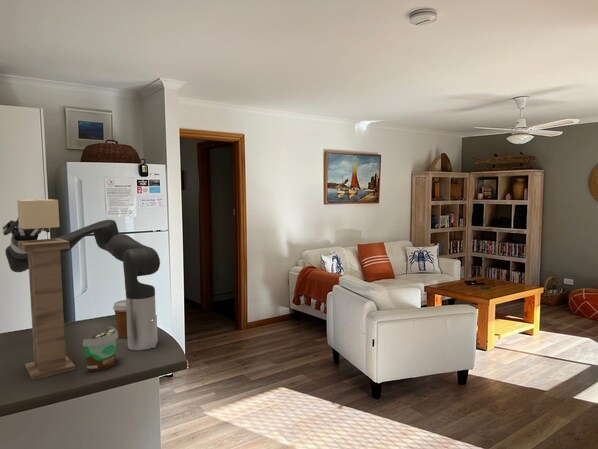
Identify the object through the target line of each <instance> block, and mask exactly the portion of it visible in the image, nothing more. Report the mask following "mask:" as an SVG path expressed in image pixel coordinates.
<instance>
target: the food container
mask: <svg viewBox="0 0 598 449" xmlns="http://www.w3.org/2000/svg"><path fill="white" fill-rule="evenodd" d="M118 338H119V333H118V330H117V329H116V328H115V327H113V326H107V329H106V330H105V331H103V332H99V333H96V334H94V336H92V337H91V338H83V341H82V347H84V354H85V362H86V371H87V372H94V371H95V372H97V371H102V370H106V369H108V368H112V367H113V366H114V365H115V364H116V351H117V350H116V348H117V347H116V346H117V339H118Z"/></svg>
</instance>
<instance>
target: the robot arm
mask: <svg viewBox="0 0 598 449" xmlns="http://www.w3.org/2000/svg"><path fill="white" fill-rule="evenodd" d="M50 229H51V228H35V229H23V228H20V227H19V221H18V217H17V219H16V220H9V221H8V222H7V223H6V224H5V225H4V226H2V234H3V236H8V235H9V234H11V238H10V245H8V246H7V247H6V248H5V256H6V259H7V263H8V266H9V269H10V270H11V271H12V272H14V273H24V272H26V271H27V270H28V271H29V263H28V252H24V251H22V250H21V249H19V248H18V241H27V240H39V239H38V238H39V235H40V234H41V233H42V232H46V233H50V232H51V230H50ZM91 234H93V237H94V240H95V243H96V245H97V247H98V248H99V249H101V250H104V251H106V252H108V253H109V254H110V255H111V256H113V258H115V259H116V260H118V261H120V262H122V266H123V274H124V276H123V277H124V289H125V300H126V310H127V336H128V337H127V348H128V349H129V350H130V351H145V350H149V349H155V348H157V344H158V342H159V340H158V315H157V314H156V311H157V310H156V307H157V306H156V287H155V286H153V285H151V284H147V283H143V282H140V281H139V280H138V279H139V278H138V277H142V276H143V277H144V276H150V275H154V274H155V273H157V272H158V271H159V268H160V265H161V260H160V255H159V254H158V252H157V251H156V250H155V249H154V248H153V247H150V246H148V245H144V244H143V243H141V242H139V241H137V240H135V239H134V238H133V237H132V236H130V235H128V234H125V233H120V232H119V228H118V225H117V222H116V221H115V220H113V219H105V220H104V219H103V220H99V221H97V222H95V223H91V224H89V225H86V226H84V227H81V228H79V229H76V230H74V231H72V232H69V233H67V234H64V235H61V236H58V237H54V238H53V239H55V238H60V239H63V240H66V241H69V242H70V249H60V256H63V255H65V254H66V253H68V252H69V251H71V249H73V247H75V245H76V244H78V243H79V242H80V241H81V240H82V239H83V238H85V237H87V236H89V235H91Z"/></svg>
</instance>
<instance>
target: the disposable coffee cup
mask: <svg viewBox="0 0 598 449" xmlns="http://www.w3.org/2000/svg"><path fill="white" fill-rule="evenodd" d="M112 309H113V311H114V315H115V320H116V327H117V333H118V338H119V337H120V338H125V339H128V336H127V310H126V299H122V300H117V301H116V302H114V304H113V306H112Z"/></svg>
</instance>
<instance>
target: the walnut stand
mask: <svg viewBox="0 0 598 449" xmlns="http://www.w3.org/2000/svg"><path fill="white" fill-rule="evenodd" d="M54 238H55V239H54ZM54 238H46V239H44V238H43V239H37V240H27V241H18V248H19V249H21V250H22V251H24V252H28V263H29V269H28V276H29V277H28V279H29V293H30V312H31V326H32V327H31V329H32V344H33V345H32V346H33V348H32V350H33V361H31V362H26V363H24V367H25V369H26V371H27V373H28V374H29V376H30V378H31V379H32V381H34V380H39V379H43V378H47V377H50V376H55V375H59V374H64V373H66V372H71V371H75V370H76V369H77V367H76V365H75V363H74V362H73V361H72V360H71V359H70V358H69V357H68V356H67V355H66V340H65V338H66V336H65V335H66V334H65V319H64V316H65V314H64V301H63V300H64V299H63V283H62V282H63V280H62V277H63V276H62V261H61V260H62V258H61V255H60V249H70V242H69V241H66V240H63V239H60V238H57V237H54ZM70 250H71V249H70Z"/></svg>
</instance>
